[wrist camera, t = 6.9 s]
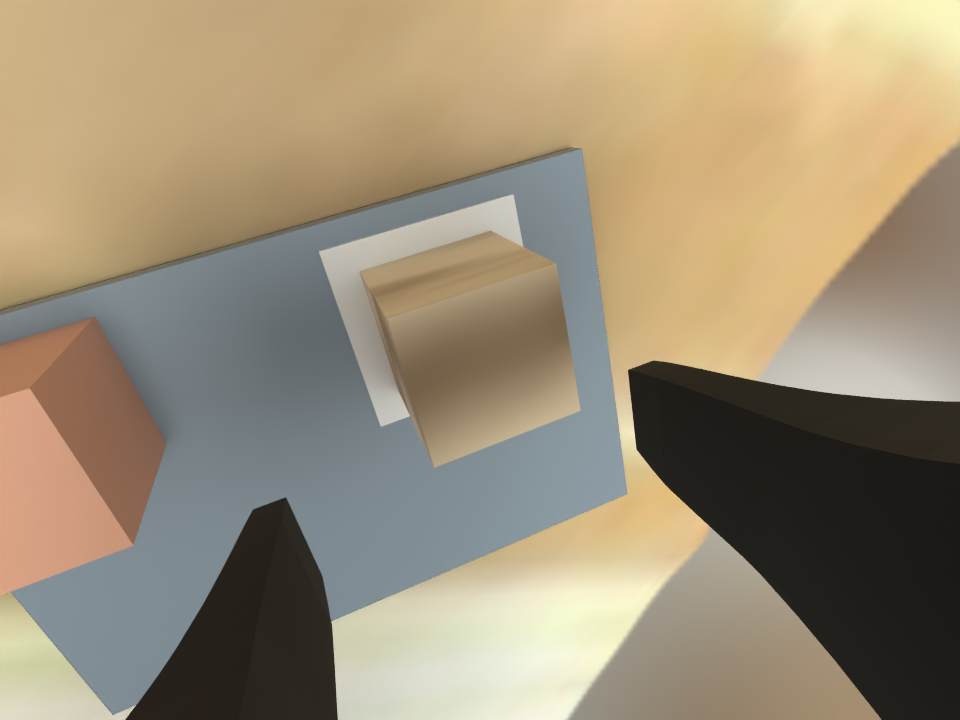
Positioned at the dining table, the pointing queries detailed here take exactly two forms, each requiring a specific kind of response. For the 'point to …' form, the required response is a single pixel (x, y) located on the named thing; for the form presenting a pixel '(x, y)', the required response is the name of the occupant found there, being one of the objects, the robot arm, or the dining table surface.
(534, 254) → the maple block
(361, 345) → the build board
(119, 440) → the terracotta block
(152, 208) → the dining table surface
